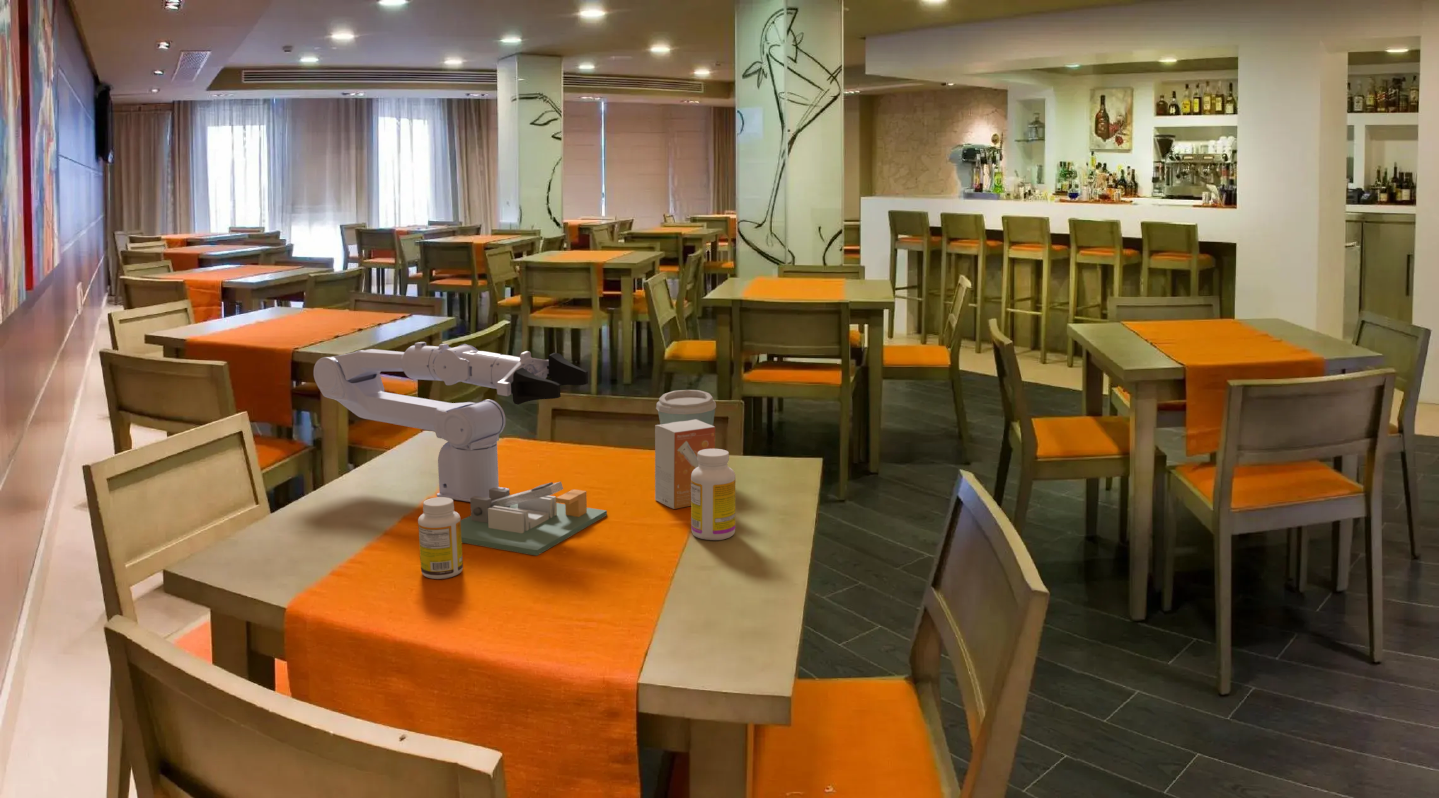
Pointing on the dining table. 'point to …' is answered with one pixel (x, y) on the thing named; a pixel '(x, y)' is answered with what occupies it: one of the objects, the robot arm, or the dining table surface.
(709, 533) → the supplement bottle
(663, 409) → the disposable coffee cup
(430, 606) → the dining table surface
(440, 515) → the supplement bottle
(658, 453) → the small box
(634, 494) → the dining table surface
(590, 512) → the socket base
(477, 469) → the robot arm
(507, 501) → the white stepped bar
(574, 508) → the lug slider
